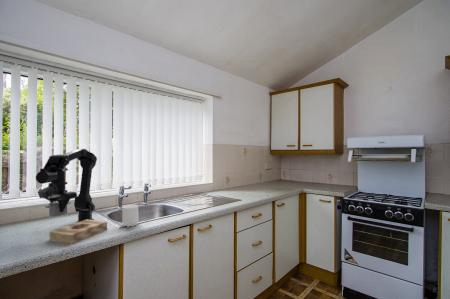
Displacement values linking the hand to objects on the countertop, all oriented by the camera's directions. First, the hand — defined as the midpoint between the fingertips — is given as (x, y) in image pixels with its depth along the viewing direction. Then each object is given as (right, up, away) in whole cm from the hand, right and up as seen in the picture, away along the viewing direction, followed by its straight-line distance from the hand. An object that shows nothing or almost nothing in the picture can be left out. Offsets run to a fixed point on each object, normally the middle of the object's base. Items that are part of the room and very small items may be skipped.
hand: (58, 211), depth 117 cm
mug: (+28, -11, +17) cm, 35 cm away
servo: (0, -1, 0) cm, 1 cm away
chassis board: (+10, -11, +1) cm, 15 cm away
